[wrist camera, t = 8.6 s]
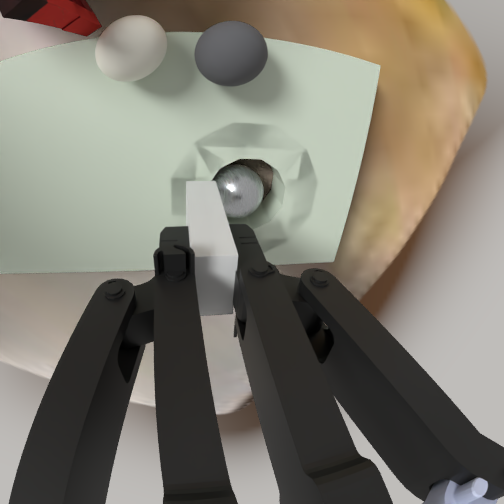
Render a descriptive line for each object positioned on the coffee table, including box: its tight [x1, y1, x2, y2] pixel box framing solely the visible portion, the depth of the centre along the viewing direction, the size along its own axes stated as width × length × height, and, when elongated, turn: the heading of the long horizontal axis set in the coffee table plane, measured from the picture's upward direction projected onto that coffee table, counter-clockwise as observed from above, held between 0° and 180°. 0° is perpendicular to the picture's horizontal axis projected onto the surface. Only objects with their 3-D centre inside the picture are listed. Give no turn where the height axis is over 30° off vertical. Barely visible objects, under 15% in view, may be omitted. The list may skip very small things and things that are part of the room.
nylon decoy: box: [95, 15, 167, 82], centre depth 10 cm, size 3×3×3 cm
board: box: [0, 32, 380, 274], centre depth 15 cm, size 26×14×2 cm, turn 84°
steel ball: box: [212, 165, 264, 218], centre depth 18 cm, size 3×3×3 cm
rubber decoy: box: [194, 21, 268, 87], centre depth 11 cm, size 3×3×3 cm
